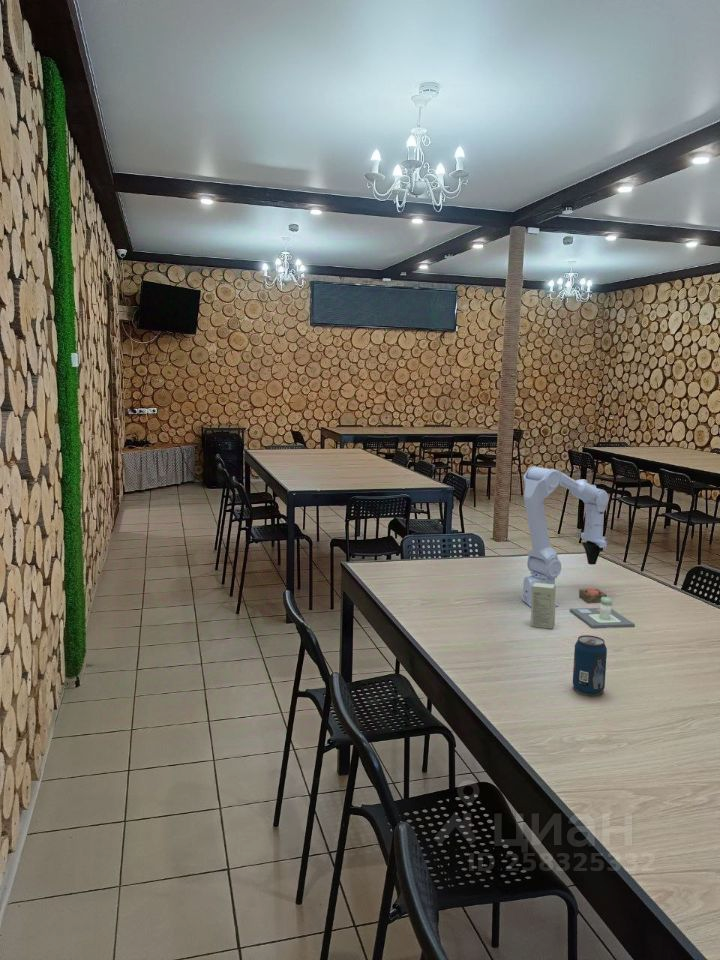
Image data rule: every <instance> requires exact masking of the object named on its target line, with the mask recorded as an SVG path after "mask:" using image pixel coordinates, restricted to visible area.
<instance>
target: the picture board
mask: <svg viewBox="0 0 720 960" xmlns="http://www.w3.org/2000/svg"><path fill="white" fill-rule="evenodd" d="M569 612H570V613H571V614H573V615H574V616H575V617H577V618H578V619H579V620H581V621H582V622H583V623H585V624H586V625H587V626H589V627H590V628H591V629H600V628H601V629H606V627H613V628H635V625H636V624H635V623H634V622H632V621H631V620H629V619H628V618H626V617H625V616H623V615H622V614H620V613H619V612H617V611H616V610H614V609H613V608H611V615H610V619H609V620H604V619H601V618H600V617H599V616H600V607H589V608H588V607H587V608H569Z"/></svg>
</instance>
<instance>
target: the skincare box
mask: <svg viewBox="0 0 720 960" xmlns="http://www.w3.org/2000/svg"><path fill="white" fill-rule="evenodd" d="M555 602H556V583H555V584H545V583H534V584H533V585H532V605H531V607H530V608H531V613H530V614H531V617H530V618H531V619H530V623H531V624H530V625H531V627H535V628H541V629H554V628H555V627H554V626H555V625H556V623H555V622H556V621H555V620H556V606H555Z"/></svg>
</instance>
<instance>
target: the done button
mask: <svg viewBox="0 0 720 960" xmlns="http://www.w3.org/2000/svg"><path fill="white" fill-rule="evenodd" d="M594 589H595V588H588V589H586V590H587V593H588V594H599V591H598V590H599V589H598V590H594Z"/></svg>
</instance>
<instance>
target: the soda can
mask: <svg viewBox="0 0 720 960" xmlns="http://www.w3.org/2000/svg"><path fill="white" fill-rule="evenodd" d="M573 653H574V654H573V673H572V685H573V687H574V689H575V690H576V692H578V693H580V694H581V695H586V696H592V697H593V696H600V695H601V693H602V692H603V691H604V690H605V688H606V687H605V686H606V670H607V654H608V649H607V646H606V643H605V640H604V639H603V638H601V637H598V636H596V635H589V634H587V635H586V634H585V635H579V636H578V637H577V640H576V642H575V643H574V652H573Z"/></svg>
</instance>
